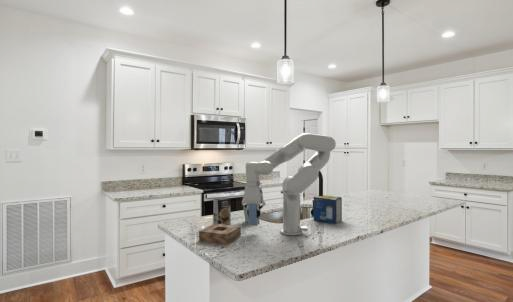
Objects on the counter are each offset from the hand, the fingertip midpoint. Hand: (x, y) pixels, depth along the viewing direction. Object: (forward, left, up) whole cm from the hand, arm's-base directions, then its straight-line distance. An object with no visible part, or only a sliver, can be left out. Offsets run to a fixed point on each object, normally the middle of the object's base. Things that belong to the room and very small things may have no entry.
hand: (254, 216), depth 162 cm
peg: (0, 0, -4) cm, 4 cm away
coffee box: (+25, -9, -9) cm, 28 cm away
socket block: (+13, +15, -9) cm, 22 cm away
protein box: (-34, -44, -9) cm, 56 cm away
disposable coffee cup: (+12, -23, -9) cm, 27 cm away
